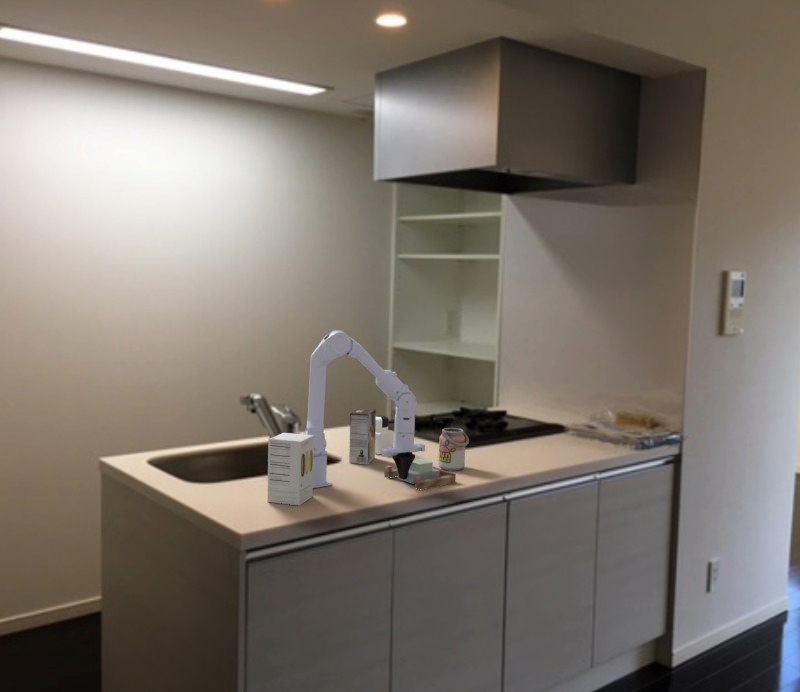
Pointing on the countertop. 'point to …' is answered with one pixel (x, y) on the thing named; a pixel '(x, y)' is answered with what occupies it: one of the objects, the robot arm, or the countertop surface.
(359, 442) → the coffee box
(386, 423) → the medicine bottle
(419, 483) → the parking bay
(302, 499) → the supplement box
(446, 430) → the soda can pail
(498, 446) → the countertop surface
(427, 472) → the stacked grey base
